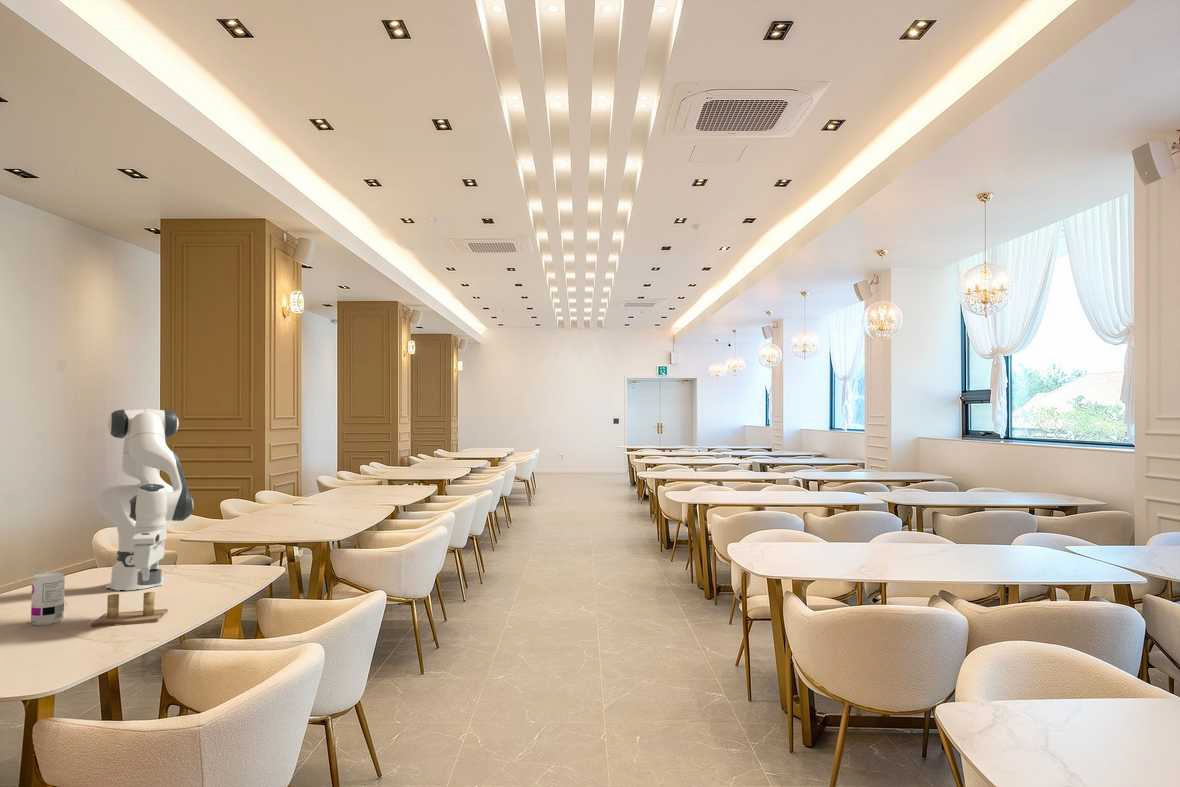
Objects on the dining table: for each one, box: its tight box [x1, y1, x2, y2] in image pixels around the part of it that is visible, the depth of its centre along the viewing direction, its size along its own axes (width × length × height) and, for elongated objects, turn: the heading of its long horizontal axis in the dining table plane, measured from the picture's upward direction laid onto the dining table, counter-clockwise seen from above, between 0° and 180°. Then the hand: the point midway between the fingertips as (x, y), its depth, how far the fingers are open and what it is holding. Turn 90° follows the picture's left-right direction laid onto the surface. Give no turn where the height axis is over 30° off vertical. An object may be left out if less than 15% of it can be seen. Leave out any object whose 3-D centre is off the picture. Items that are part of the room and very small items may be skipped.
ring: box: [137, 568, 162, 585], centre depth 227 cm, size 6×6×4 cm
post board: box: [90, 591, 168, 628], centre depth 226 cm, size 12×18×8 cm, turn 108°
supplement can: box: [30, 571, 66, 626], centre depth 222 cm, size 8×8×15 cm
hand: (149, 577), depth 227 cm, fingers closed on ring, 6 cm apart
